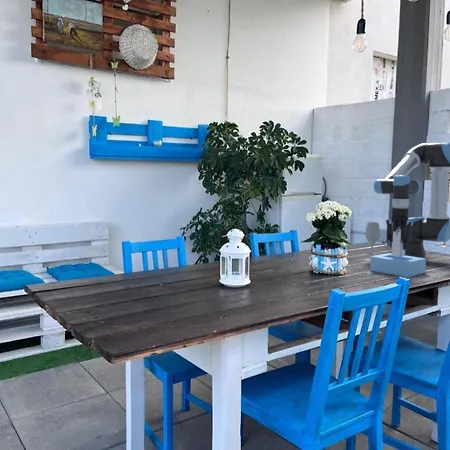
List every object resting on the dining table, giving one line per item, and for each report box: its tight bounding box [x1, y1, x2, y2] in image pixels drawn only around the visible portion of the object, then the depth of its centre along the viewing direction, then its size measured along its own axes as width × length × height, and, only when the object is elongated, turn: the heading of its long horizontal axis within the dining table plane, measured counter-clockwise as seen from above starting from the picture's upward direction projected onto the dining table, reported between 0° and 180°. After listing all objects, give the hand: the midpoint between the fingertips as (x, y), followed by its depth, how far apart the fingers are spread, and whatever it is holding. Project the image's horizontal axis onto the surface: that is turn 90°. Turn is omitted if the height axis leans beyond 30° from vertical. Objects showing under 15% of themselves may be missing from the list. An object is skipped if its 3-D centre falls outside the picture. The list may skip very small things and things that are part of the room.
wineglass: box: [364, 221, 381, 263], centre depth 258 cm, size 8×8×21 cm
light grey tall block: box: [391, 228, 403, 257], centre depth 228 cm, size 4×4×13 cm
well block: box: [369, 252, 427, 278], centre depth 229 cm, size 16×20×7 cm
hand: (398, 255), depth 229 cm, fingers closed on light grey tall block, 4 cm apart
